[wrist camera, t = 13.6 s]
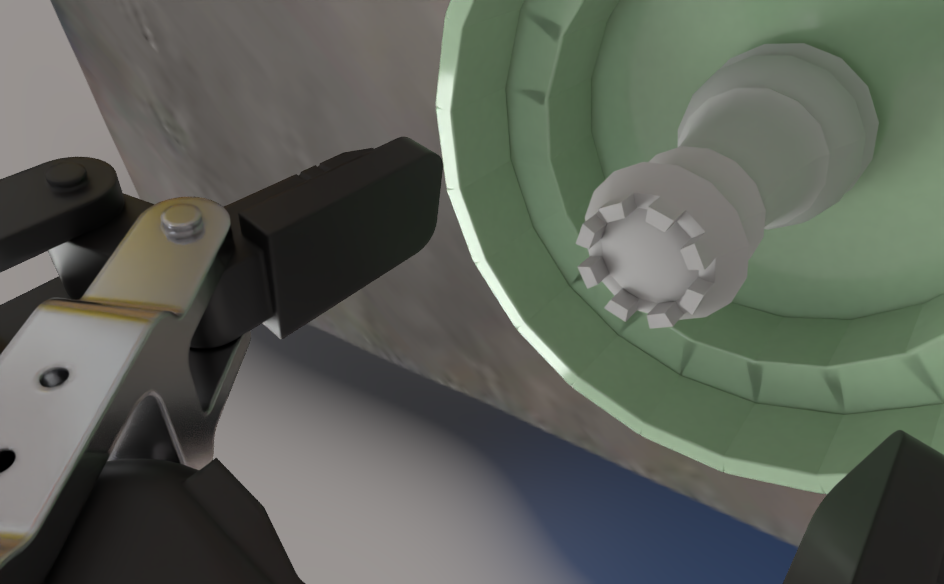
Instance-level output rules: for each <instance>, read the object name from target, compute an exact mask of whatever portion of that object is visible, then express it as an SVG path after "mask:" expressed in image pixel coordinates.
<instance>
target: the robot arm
mask: <svg viewBox="0 0 944 584" xmlns="http://www.w3.org/2000/svg"><path fill="white" fill-rule="evenodd" d="M442 170H443V163H442V159H441V158H440V156H439V155H437V154H436V153H434V152H432V151H431V150H429V149H427V148H425V147H424V146H422V145H420V144H419V143H417V142H415V141H414V140H412V139H410V138H408V137H399V138H397V139H395V140H393V141H390V142H388V143H386V144H384V145H382V146H380V147H377V148H375V149H373V148H369V149H363V150H357V151H351V152H345V153H342V154H340V155H337V156H335V157H333V158H331V159H329V160H326V161H324V162H322V163H320V165H319V166H318V167H317V166H316V165H315V166H313V167H311V168H309V169H306V170H304V171H302V172H301V174H300V175H299V176H298V175H297V174H295V175H293V176H291V177H289V178H287V179H284V180H282V181H280V182H278V183H276V184H273V185H271V186H269V187H267V188H264V189H262V190H260V191H258V192H256V193H253V194H251V195H249V196H247V197H245V198H242V199H240V200H238V201H236V202H234V203H231V204H229V205H227V206H224V207H223V206H221V205H220V204H219V203H217V202H214V201H212V200H209V199H205V198H200V197H179V198H173V199H168V200H165V201H162V202H159V203H157V204H155V205H154V204H152V203H149V202H146V201H143V200H140V199H138V198H135V197H132V196H129V195H126V194H123V193H122V190H121V187H120V184H119V181H118V177H117V174H116V171H115V170H114V168H113V167H112V166H111V165H109V164H108V163H106V162H104V161H102V160H99V159H95V158H89V157H68V158H61V159H56V160H52V161H49V162H46V163H43V164H41V165H38V166H35V167H32V168H30V169H27V170H24V171H22V172H19V173H16V174H14V175H11V176H8V177H6V178H3V179H0V272H2V271H5V270H7V269H9V268H11V267H13V266H15V265H18V264H20V263H22V262H24V261H26V260H28V259H30V258H33V257H35V256H37V255H39V254H41V253H44V252H45V251H48V253H49V255H50V257H51V259H52V262H53V264H54V266H55V268H56V270H57V273H58V275H59V277H57V278H54V279H53V280H50V281H48V282H46V283H44V284H42V285H40V286H38V287H36V288H35V289H32V290H30V291H28V292H26V293H24V294H22V295H20V296H18V297H16V298H14V299H12V300H10V301H8V302H6V303H4V304H2V305H0V584H305V583H304V582H302V580H300V578H299V577H298V575H297V574H296V572H295V570H294V568H293V566H292V564H291V562H290V560H289V558H288V556H287V554H286V552H285V549H284V547H283V546H282V543H281V541H280V539H279V537H278V535H277V533H276V531H275V529H274V527H273V525H272V523H271V521H270V519H269V517H268V514H267V512H266V510H265V508H264V507H263V506H262V505H261V504H260V502H258V500H257V499H256V498H255V497H254V496H253V495H252V494H251V493H250V492H249V491H248V490H247V489H246V488H245V487H244V486H243V485H242V484H241V483H240V482H239V481H238V480H237V479H236V478H235V477H234V475H233V474H231V472H230V471H229V470H228V469H227V468H226V467H225V466H224V465H223V464H222V463H221V462H220V461H219V460H218V459H217V458H215V459H214V460H213V454H214V437H215V431H216V427H217V424H218V421H219V419H220V416H221V414H222V411H223V409H224V406H225V404H226V401H227V399H228V396H229V394H230V391H231V389H232V386H233V383H234V381H235V378H236V376H237V374H238V371H239V369H240V366H241V364H242V361H243V359H244V356H245V354H246V351H247V348H248V346H249V343H250V339H251V332H250V330H252V329H253V328H255V327H257V326H258V325H260V324H262V323H263V324H264V325H265V326H266V327H267V328H268V329H270V330H271V331H272V332H273V333H274V334H275V335H277V336H278V337H279V338H280V339H281V340H282V339H283V338H285V337H286V336H288V335H289V334H291V333H293V332H294V331H296V330H297V329H299V328H300V327H302V326H304V325H305V324H307V323H308V322H310V321H311V320H313V319H315V318H316V317H318V316H319V315H321V314H322V313H324V312H326V311H327V310H329V309H330V308H332V307H333V306H335V305H336V304H338V303H340V302H341V301H343V300H344V299H346V298H347V297H349V296H351V295H352V294H354V293H355V292H357V291H358V290H360V289H361V288H363V287H365V286H366V285H368V284H369V283H371V282H372V281H374V280H376V279H377V278H379V277H380V276H382V275H383V274H385V273H386V272H388V271H390V270H391V269H393V268H394V267H396V266H397V265H399V264H401V263H402V262H404V261H405V260H407V259H408V258H410V257H411V256H413V255H415V254H416V253H418V252H419V251H420V250H421V249H423V248H424V246H425V245H426V244H427V243H428V242H429V240H430V238H431V237H432V235H433V233H434V230H435V227H436V223H437V214H438V206H439V197H440V188H441V179H442ZM783 584H944V455H943V454H942V453H940V452H938V451H937V450H935V449H933V448H932V447H930V446H928V445H926V444H925V443H923V442H921V441H920V440H918V439H916V438H915V437H913V436H911V435H909V434H908V433H906V432H904V431H903V430H897V431H895V432H894V433H892V434H891V435H890V436H888V437H887V438H886V439H885V440H884V441H883V442H882V443H881V444H880V445H879V446H878V447H876V448H875V449H874V450H873V451H872V452H871V453H870V454H869V455H868V456H867V457H866V458H864V459H863V460H862V461H861V462H860V463H859V464H858V465H857V466H856V467H855V468H854V469H853V470H851V471H850V472H849V473H848V474H847V475H846V476H845V477H844V478H843V479H842V480H841V481H839V482H838V483H837V484H836V485H835V486H834V487H833V488H832V490H831V491H830V492H829V493H828V494H827V496H826V497H825V498H824V500H823V501H822V502H821V504H820V505H819V507H818V508H817V510H816V512H815V513H814V515H813V517H812V519H811V521H810V523H809V525H808V528H807V530H806V532H805V534H804V537H803V539H802V541H801V543H800V546H799V548H798V550H797V553H796V555H795V557H794V559H793V562H792V564H791V566H790V569H789V571H788V573H787V575H786V578H785V580H784V582H783Z"/></svg>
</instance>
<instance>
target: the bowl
mask: <svg viewBox="0 0 944 584" xmlns="http://www.w3.org/2000/svg"><path fill="white" fill-rule="evenodd" d="M789 43H805V44H807V45H810V46H812V47H815V48H817V49H820V50H822V51H825V52H827V53H830V54H832V55H835V56H837V57H840V58H842V59H843V60H844V62H845V63H846V64H847V65H848V66H849V67H850V68H851V69H852V70H853V71H854V72H855V73H856V74H857V75H858V76H859V77H860V78H861V79H862V81H863V82H864V83H865V84H866V85H867V86H868V88H869V91H870V95H871V98H872V101H873V105H874V108H875V111H876V114H877V118H878V121H879V125H878V131H877V136H876V142H875V148H874V154H873V159H872V161H871V162H870V163H869V165H868V166H867V168H866V169H865V171H864V172H863V173H862V175H861V176H860V178H859V179H858V181H857V182H856V183H855V185H854V186H853V188H852V189H851V190H850V191H848V192H846V193H845V194H844V195H843V197H842V198H841V199H840V201H839V202H837V203H836V204H834V205H833V206H831V207H829V208H828V209H826V210H825V211H823V212H821V213H820V214H818V215H817V216H815V217H814V218H812V219H810V220H809V221H806V222H804V223H800V224H795V225H790V226H785V227H780V228H775V229H770V230H767V229H764V237H763V239H762V240H761V242H760V244H759V245H758V247H757V248H756V250H755V252H754V253H753V255H752V256H751V258H750V259H749V260H748V271H747V278H746V280H745V281H744V283H743V285H742V286H741V288H740V289H739V291H738V292H737V294H736V296H735V297H734V299H733V300H732V302H731V303H730V304H728V305H726V306H724V307H723V308H721V309H719V310H717V311H716V312H714V313H712V314H710V315H709V316H707V317H703V318H693V319H683V320H678V321H677V323H676V324H675V325H674V326H673V327H662V328H651V329H650V328H649V324H648V319H647V314H648V313H645V312H642V311H638V310H637V311H636V312H635V313H634V314H633V315H632V316H631V317H630V318H629V319H628V320H627V321H626V322H625V321H623V320H622V319H620V318H619V317H617V316H616V315H614V314H612V313H611V312H609V311H608V310H606V309H605V306H606V305H607V304H608V303H609V301H610V300H611V299H612V298H613V297H614V294H613V293H612V292H611V291H610V290H609V289H608V288H607V286H606V285H605V284H604V283H603V282H602V281H601V282H600V283H599V284H598V285H595V286H593V287H591V288H588V289H587V287H586V285H585V283H584V280H583V278H582V276H581V274H580V271H579V269H578V267H577V266H579V265H580V264H581V263H582V262H583V261H585V260H586V259H587V258H588V257H589V252H588V249H587V248H585V247H582V246H580V245H577V244H576V241H577V238H578V236H579V233H580V230H581V227H582V224H583V223H584V222H585V215H586V212H587V209H588V207H589V204H590V201H591V198H592V195H593V192H594V190H595V189H597V188H598V187H599V186H600V185H601V184H602V183H603V182H604V181H605V180H606V179H607V178H608V177H609V176H610V175H611V174H612V173H613V172H614V171H617V170H620V169H623V168H626V167H629V166H632V165H635V164H638V163H641V162H649V161H650V160H651V159H652V158H653V157H654V156H655V155H657V154H659V153H662V152H665V151H668V150H671V149H674V148H677V147H678V128H679V126H680V123H681V121H682V119H683V116H684V114H685V112H686V109H687V107H688V105H689V102H690V100H691V98H692V95H693V94H694V93H695V92H696V91H697V90H698V89H699V88H700V87H701V86H702V85H703V84H704V83H705V82H706V81H707V80H708V79H709V78H710V77H711V76H712V75H713V74H714V73H715V72H716V71H717V70H719V69H720V68H721V67H722V66H723V65H724V64H725V63H726V62H727V61H728V60H729V59H730V58H733V57H735V56H737V55H740V54H742V53H744V52H747V51H749V50H752V49H754V48H756V47H759V46H761V45H763V44H789ZM435 105H436V106H437V107H436V115H437V122H438V129H439V137H440V144H441V152H442V159H443V167H444V174H445V182H446V187H447V188H448V189H447V192H448V195H449V198H450V200H451V203H452V206H453V208H454V211H455V214H456V216H457V219H458V222H459V224H460V227H461V230H462V232H463V235H464V238H465V241H466V243H467V246H468V249H469V251H470V254H471V257H472V259H473V262H474V263H475V265H476V267H477V268H478V270H479V271H480V273H481V275H482V276H483V278H484V279H485V281H486V283H487V284H488V286H489V287H490V289H491V290H492V292H493V294H494V295H495V297H496V298H497V300H498V302H499V303H500V305H501V306H502V308H503V309H504V311H505V313H506V314H507V316H508V317H509V319H510V320H511V322H512V324H513V325H514V327H515V328H517V331H518V332H519V333H520V334H521V335H522V336H523V337H524V338H525V339H526V340H527V341H528V342H529V343H530V344H531V345H532V346H533V347H534V349H535V350H536V351H537V352H538V353H539V354H540V355H541V356H542V357H543V358H544V359H545V360H546V361H547V362H548V363H549V364H550V365H551V366H552V367H553V368H554V369H555V370H556V372H557V373H558V374H559V375H560V376H561V377H562V378H563V379H564V380H565V381H566V382H567V383H568V384H569V385H570V386H572V387H573V389H575V390H576V391H578V392H579V393H581V394H582V395H583V396H585V397H586V398H588V399H589V400H590V401H592V402H593V403H595V404H596V405H598V406H599V407H600V408H602V409H603V410H605V411H606V412H607V413H609V414H610V415H612V416H613V417H615V418H616V419H617V420H619V421H620V422H622V423H623V424H624V425H626V426H627V427H629V428H630V429H632V430H633V431H634V432H636V433H637V434H639V435H640V434H641V436H642V437H644V438H647V439H649V440H651V441H653V442H656V443H658V444H660V445H662V446H665V447H667V448H669V449H671V450H674V451H676V452H678V453H680V454H683V455H685V456H687V457H689V458H692V459H694V460H696V461H698V462H701V463H703V464H705V465H707V466H710V467H712V468H714V469H716V470H719V471H721V472H724V471H725V473H727V474H731V475H736V476H740V477H745V478H750V479H754V480H759V481H764V482H768V483H773V484H778V485H782V486H787V487H791V488H796V489H801V490H805V491H810V492H815V493H819V494H824V493H825V494H828V493H829V492H830V491H831V490H832V488H833V487H834V486H835V485H836V484H837V483H838V482H839V481H841V480H842V479H843V478H844V477H845V476H846V475H847V474H848V473H849V472H850V471H851V470H853V469H854V468H855V467H856V466H857V465H858V464H859V463H860V462H861V461H862V460H863V459H864V458H866V457H867V456H868V455H869V454H870V453H871V452H872V451H873V450H874V449H875V448H876V447H878V446H879V445H880V444H881V443H882V442H883V441H884V440H885V439H886V438H887V437H888V436H890V435H891V434H892V433H894V432H895V431H897V430H903V431H904V432H906V433H908V434H909V435H911V436H913V437H915V438H916V439H918V440H920V441H921V442H923V443H925V444H926V445H928V446H930V447H932V448H933V449H935V450H937V451H938V452H940V453H942V454H943V455H944V0H451V1H450V4H449V6H448V9H447V11H446V16H445V20H444V29H443V39H442V48H441V57H440V66H439V75H438V84H437V94H436V103H435Z"/></svg>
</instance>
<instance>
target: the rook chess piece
mask: <svg viewBox="0 0 944 584" xmlns="http://www.w3.org/2000/svg"><path fill="white" fill-rule="evenodd" d="M878 125H879V121H878V118H877V114H876V111H875V108H874V105H873V101H872V98H871V95H870V91H869V88H868V86H867V85H866V84H865V83H864V82H863V81H862V79H861V78H860V77H859V76H858V75H857V74H856V73H855V72H854V71H853V70H852V69H851V68H850V67H849V66H848V65H847V64H846V63H845V62H844V60H843V59H842V58H840V57H837V56H835V55H832V54H830V53H827V52H825V51H822V50H820V49H817V48H815V47H812V46H810V45H807V44H805V43H789V44H763V45H761V46H759V47H756V48H754V49H752V50H749V51H747V52H744V53H742V54H740V55H737V56H735V57H733V58H730V59H729V60H728V61H727V62H726V63H725V64H724V65H723V66H722V67H721V68H720V69H719V70H717V71H716V72H715V73H714V74H713V75H712V76H711V77H710V78H709V79H708V80H707V81H706V82H705V83H704V84H703V85H702V86H701V87H700V88H699V89H698V90H697V91H696V92H695V93H694V94H693V95H692V98H691V100H690V102H689V105H688V107H687V109H686V112H685V114H684V116H683V119H682V121H681V123H680V126H679V128H678V147H677V148H674V149H671V150H668V151H665V152H662V153H659V154H657V155H655V156H654V157H653V158H652V159H651V160H650V161H649V162H641V163H638V164H635V165H632V166H629V167H626V168H623V169H620V170H617V171H614V172H613V173H612V174H611V175H610V176H609V177H608V178H607V179H606V180H605V181H604V182H603V183H602V184H601V185H600V186H599V187H598V188H597V189H595V190H594V192H593V195H592V198H591V201H590V204H589V207H588V209H587V212H586V215H585V222H584V223H583V224H582V227H581V230H580V233H579V236H578V238H577V241H576V244H577V245H580V246H582V247H585V248H587V249H588V252H589V257H588V258H587V259H586V260H585V261H583V262H582V263H581V264H580V265H579V266H577V267H578V269H579V271H580V274H581V276H582V278H583V280H584V283H585V285H586V287H587V289H588V288H591V287H593V286H595V285H598V284H599V283H600V282H601V281H602V282H603V283H604V284H605V285H606V286H607V288H608V289H609V290H610V291H611V292H612V293H613V294H614V297H613V298H612V299H611V300H610V301H609V303H608V304H607V305H606V306H605V309H606V310H608V311H609V312H611V313H612V314H614V315H616V316H617V317H619V318H620V319H622V320H623V321H625V322H626V321H627V320H628V319H629V318H630V317H631V316H632V315H633V314H634V313H635V312H636V311H637V310H638V311H642V312H645V313H648V314H647V319H648V324H649V328H650V329H651V328H662V327H673V326H674V325H675V324H676V323H677V321H678V320H683V319H693V318H703V317H707V316H709V315H710V314H712V313H714V312H716V311H717V310H719V309H721V308H723V307H724V306H726V305H728V304H730V303H731V302H732V300H733V299H734V297H735V296H736V294H737V292H738V291H739V289H740V288H741V286H742V285H743V283H744V281H745V280H746V278H747V271H748V260H749V259H750V258H751V256H752V255H753V253H754V252H755V250H756V248H757V247H758V245H759V244H760V242H761V240H762V239H763V237H764V229H767V230H770V229H775V228H780V227H785V226H790V225H795V224H800V223H804V222H806V221H809V220H810V219H812V218H814V217H815V216H817V215H818V214H820V213H821V212H823V211H825V210H826V209H828V208H829V207H831V206H833V205H834V204H836V203H837V202H839V201H840V199H841V198H842V197H843V195H844V194H845V193H846V192H848V191H850V190H851V189H852V188H853V186H854V185H855V183H856V182H857V181H858V179H859V178H860V176H861V175H862V173H863V172H864V171H865V169H866V168H867V166H868V165H869V163H870V162H871V161H872V159H873V154H874V148H875V142H876V136H877V131H878Z"/></svg>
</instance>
